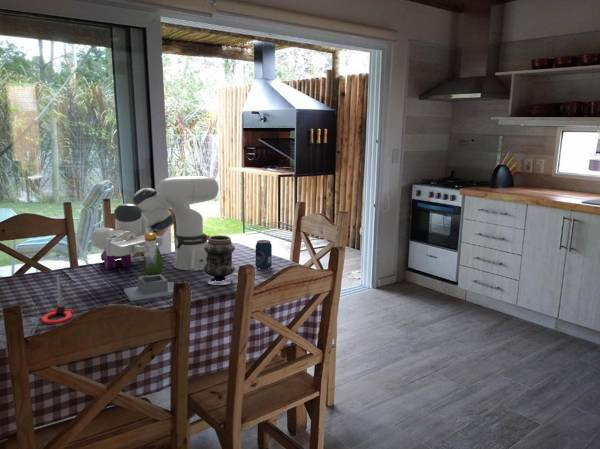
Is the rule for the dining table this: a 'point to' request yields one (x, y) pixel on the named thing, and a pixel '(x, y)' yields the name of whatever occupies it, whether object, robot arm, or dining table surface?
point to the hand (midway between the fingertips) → (152, 248)
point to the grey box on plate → (150, 288)
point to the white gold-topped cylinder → (151, 250)
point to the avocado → (155, 270)
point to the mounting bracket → (110, 259)
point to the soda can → (263, 254)
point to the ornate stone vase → (219, 257)
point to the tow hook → (58, 308)
